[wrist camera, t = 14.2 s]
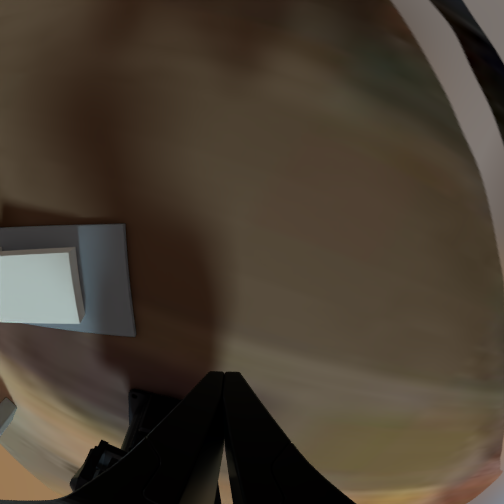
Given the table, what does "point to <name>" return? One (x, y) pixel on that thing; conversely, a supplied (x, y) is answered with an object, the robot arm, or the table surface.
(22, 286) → the tile
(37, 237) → the runner
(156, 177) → the table surface
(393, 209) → the table surface
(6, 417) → the lighter
